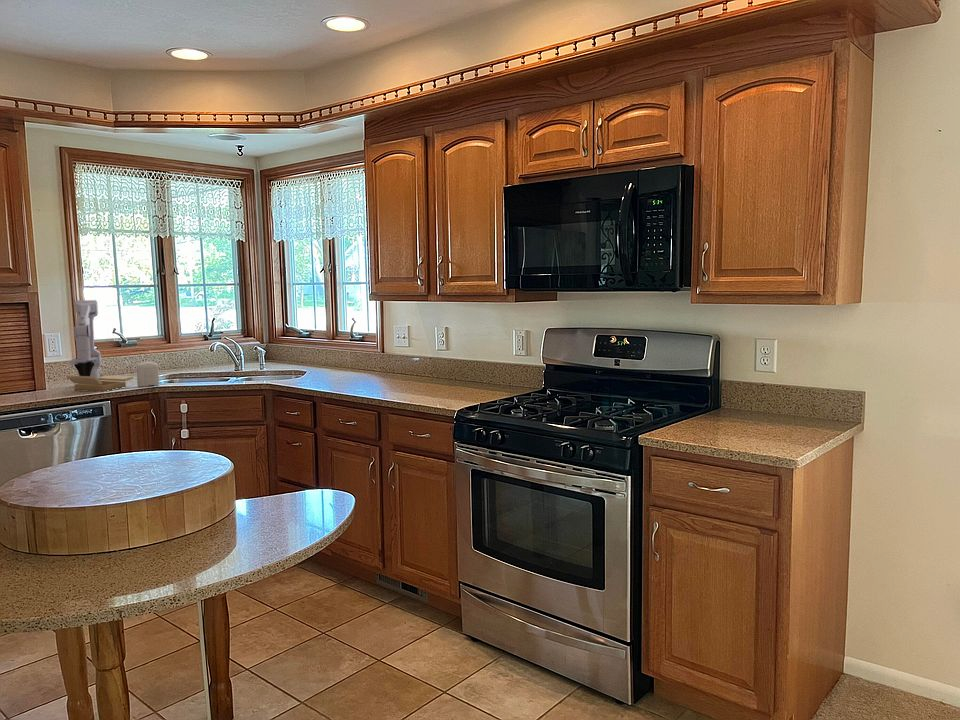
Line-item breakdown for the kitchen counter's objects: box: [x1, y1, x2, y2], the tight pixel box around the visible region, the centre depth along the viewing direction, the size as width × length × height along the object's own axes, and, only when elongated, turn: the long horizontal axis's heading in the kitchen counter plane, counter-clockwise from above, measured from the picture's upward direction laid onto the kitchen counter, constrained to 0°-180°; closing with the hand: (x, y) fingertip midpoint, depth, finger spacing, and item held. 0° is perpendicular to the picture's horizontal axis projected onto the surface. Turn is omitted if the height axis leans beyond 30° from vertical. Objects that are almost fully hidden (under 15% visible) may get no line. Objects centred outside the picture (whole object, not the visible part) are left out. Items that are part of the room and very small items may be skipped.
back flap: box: [98, 374, 134, 382], centre depth 375 cm, size 17×6×1 cm, turn 71°
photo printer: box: [136, 361, 160, 387], centre depth 376 cm, size 10×4×12 cm, turn 123°
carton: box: [73, 380, 127, 392], centre depth 366 cm, size 18×14×3 cm
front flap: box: [66, 374, 102, 385], centre depth 357 cm, size 17×6×1 cm
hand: (85, 377), depth 357 cm, fingers open, 2 cm apart
